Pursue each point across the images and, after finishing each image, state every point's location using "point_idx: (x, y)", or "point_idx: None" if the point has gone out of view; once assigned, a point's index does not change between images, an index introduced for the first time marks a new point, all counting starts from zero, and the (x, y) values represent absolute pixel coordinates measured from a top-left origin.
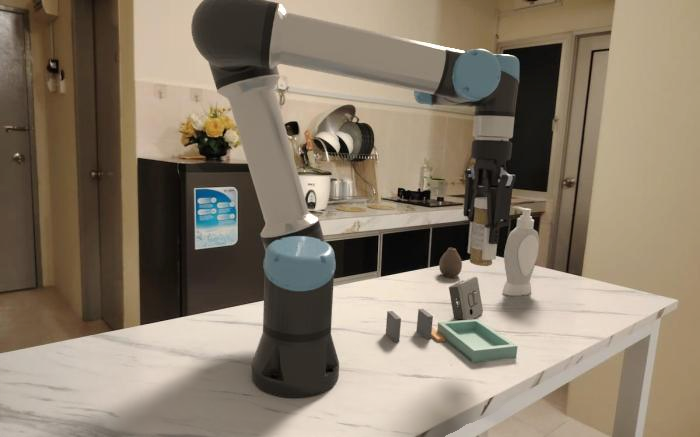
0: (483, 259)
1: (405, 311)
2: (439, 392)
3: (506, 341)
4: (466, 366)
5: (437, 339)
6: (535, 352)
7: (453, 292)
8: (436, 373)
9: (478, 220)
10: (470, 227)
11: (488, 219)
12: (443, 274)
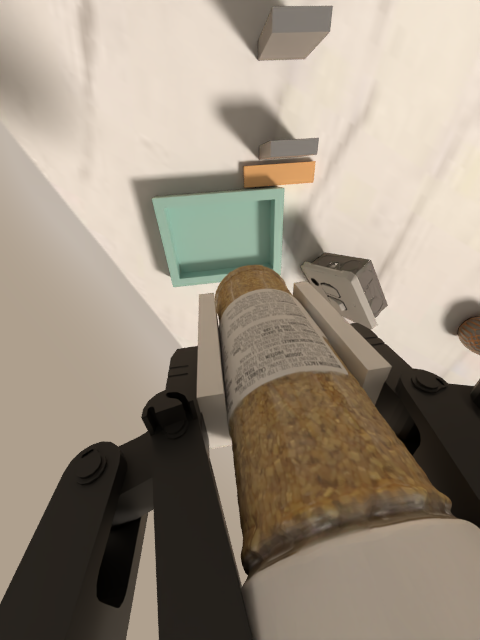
0: (202, 294)
1: (388, 165)
2: (15, 38)
3: (189, 278)
4: (142, 175)
5: (243, 166)
6: (191, 313)
7: (354, 264)
8: (105, 83)
9: (285, 401)
10: (360, 344)
11: (196, 460)
12: (476, 317)
